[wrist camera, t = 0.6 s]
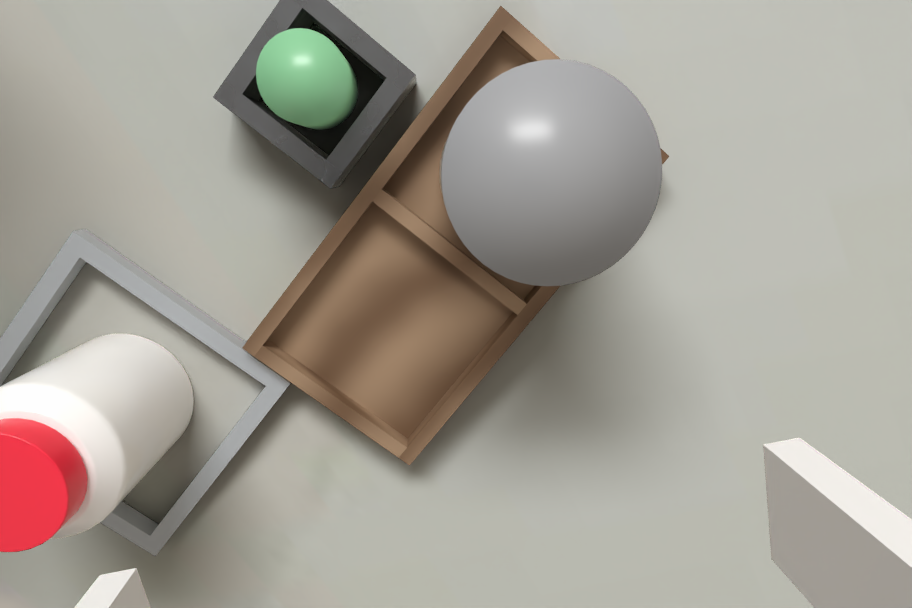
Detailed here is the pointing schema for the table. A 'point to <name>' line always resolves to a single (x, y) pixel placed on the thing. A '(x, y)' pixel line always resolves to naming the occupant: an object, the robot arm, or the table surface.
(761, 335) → the table surface
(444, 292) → the brown divided tray
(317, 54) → the button
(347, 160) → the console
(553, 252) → the seated part
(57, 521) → the pill bottle
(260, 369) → the tray
